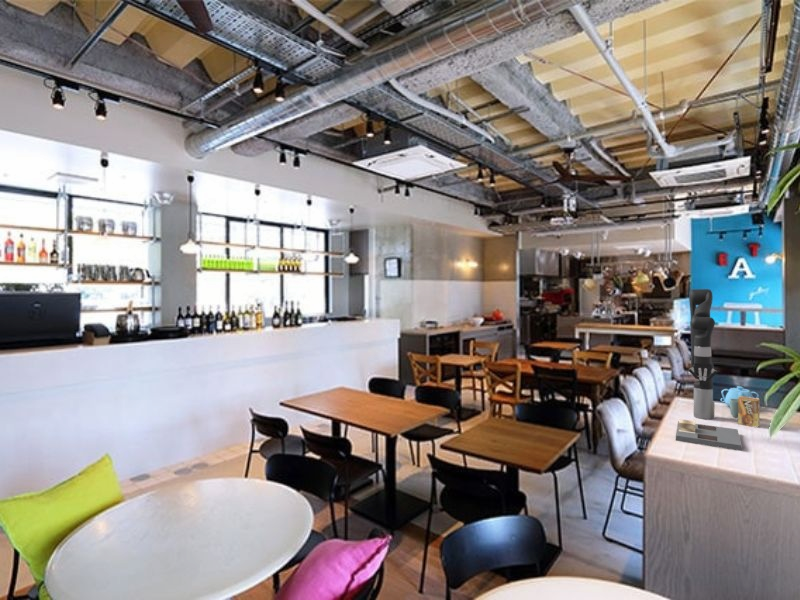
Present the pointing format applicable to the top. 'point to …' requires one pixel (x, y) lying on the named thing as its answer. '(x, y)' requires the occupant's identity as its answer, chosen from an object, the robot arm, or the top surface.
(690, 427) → the maple block
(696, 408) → the robot arm
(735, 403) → the cup
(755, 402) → the candy box
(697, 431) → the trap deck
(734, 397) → the decorative pot
